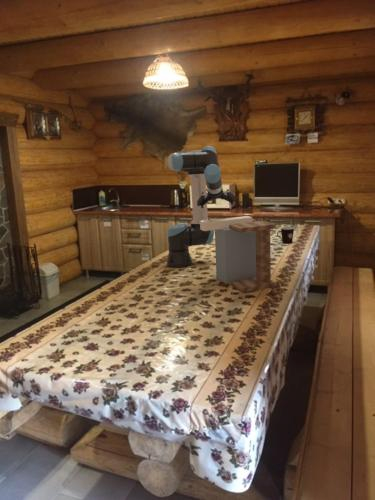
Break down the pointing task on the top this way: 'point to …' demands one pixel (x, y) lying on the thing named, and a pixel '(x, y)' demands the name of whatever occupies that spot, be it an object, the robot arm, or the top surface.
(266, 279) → the walnut stand
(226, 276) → the slate podium
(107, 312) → the top surface
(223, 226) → the pale wooden bar
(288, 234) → the coffee mug
